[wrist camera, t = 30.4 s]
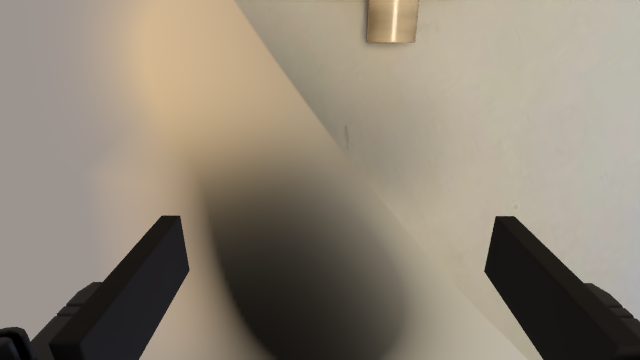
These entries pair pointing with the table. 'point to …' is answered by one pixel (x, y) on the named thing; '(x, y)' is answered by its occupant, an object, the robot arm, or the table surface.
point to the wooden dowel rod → (392, 21)
